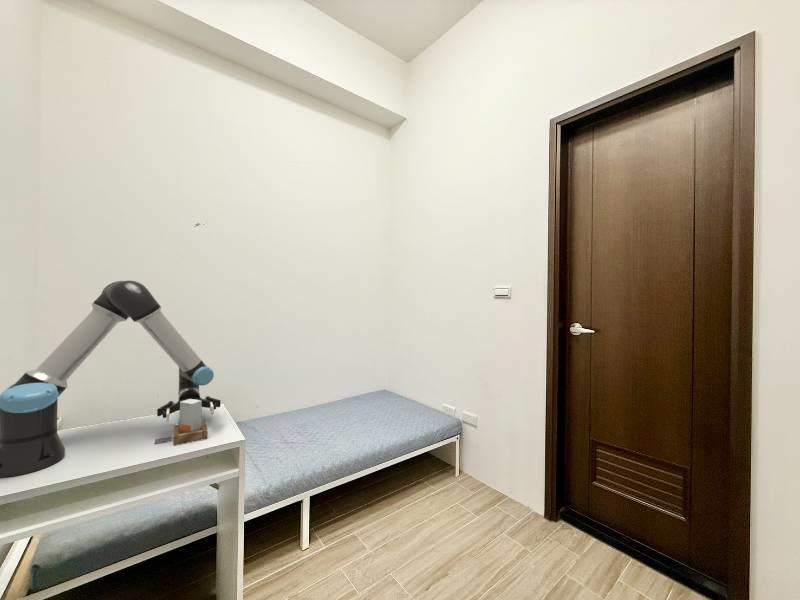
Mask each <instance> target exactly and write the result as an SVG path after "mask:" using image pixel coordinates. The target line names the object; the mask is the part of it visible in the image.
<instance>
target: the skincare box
mask: <svg viewBox="0 0 800 600" xmlns="http://www.w3.org/2000/svg"><path fill="white" fill-rule="evenodd" d="M202 408H203V407H202V401H201V400H196V399H187V400H184V401H181V402H180V410H179V424H180V431H179V434H184V433H189V432H194V431H200V430H201V421H202Z"/></svg>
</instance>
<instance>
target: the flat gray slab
mask: <svg viewBox="0 0 800 600" xmlns="http://www.w3.org/2000/svg"><path fill="white" fill-rule="evenodd" d="M167 441H169V442H173V436H171V435H170V436H165V437H160V438H155V439H154V442H153V443H154V445H159V444H162V443H163V442H164V443H168V442H167ZM158 443H159V444H158Z"/></svg>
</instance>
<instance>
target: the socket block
mask: <svg viewBox="0 0 800 600" xmlns="http://www.w3.org/2000/svg"><path fill="white" fill-rule="evenodd" d="M179 431H180V423H179V424H174V426H173V440H172V442H173V445H174V446H177V445H176V444H179V445H183V444H182V443H184V444H188V443H187V442H189V443H193V442H192V441H194V442H198V441H197V440H199V441H202V440H201V439H204V440H207V439H208V429H207V423H206V419H203V420H202V419H201V430H200V431H194V432H189V433H184V434H179ZM206 438H207V439H206Z"/></svg>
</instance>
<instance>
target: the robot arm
mask: <svg viewBox="0 0 800 600" xmlns="http://www.w3.org/2000/svg"><path fill="white" fill-rule="evenodd" d="M91 306H92V311H90V312H89V313H88V314H87V316H86V317H85V318H84V319H82V321H81V322H80V323H79V324H78V325H77V326H76V327H75V328H74V329H73V330H72V331H71V333H70V334H69V335H67V337H66V338H65V339H64V340H63V341H62V342H61V343H60V344H59V345H58V346H57V347H56V348H55V349H54V350H52V352H51V353H50V354H49V356H48V357H47V358H45V360H43V362H42V363H41V364H40V365H38V367H37V368H36V369H31V370H27V371H25V373H24V374H23V375H22V376H20V378H18V380H17V381H15V383H14V384H12V385H10V386H9V387H7V388H6V389H4V390H3V391H2V392H1V393H0V478H8V477H9V478H10V477H17V476H20V475H26V474H30V473H33V472H36V471H39V470H43V469H45V468H48V467H51V466H52V465H55V464H57V463H59V462H60V461H62V460H63V459H64V458H65V456H66V447H65V446H64V444H63V442H62V440H61V438H60V435H59V433H58V406H59V405H58V398H59V397H60V396H61V395H62V394H63V392H64V391H65V390H66V389H67V388H68V379H69V378H70V377H71V376H72V375H73V374H74V372H75V371H76V370H77V369H78V368H79V367H80V366H81V365H82V363H83V362H84V361H85V360H86V359H87V358H88V357H89V356H90V355H91V354H92V352H93V351H95V349H96V348H97V346H99V345H100V343H101V342H103V340H104V339H105V338H106V336H108V334H109V333H110V332H112V330H113V329H114V328H115V327H116V326H117V324H118V323H120V322H126V321H127V320H128V319H129V318H130V319H131V320H132V321H133V322H134V323H138V324H140V325H141V326H142V327H143V329H144V330H145V331H146V332H147V333H148V334H149V335H150V336H151V337H152V339H153V340H154V341H155V342H156V343H157V344H158V346H160V347H161V349H162V350H163V351H164V352H165V353H166V355H168V356H169V358H170V359H171V360H172V361H173V362H174V363H175V364H176V365H177V366H178V393H177V394H178V401H176V402H174V401H173V400H170V401H168V403H165V404H164V405H162V406H161V407H159V408H157V410H156V416H157V417H161V416H162V419H165V422H166V423H168V422H169V421H170V415H172V414H174V413H176V412H178V411H180V402H181V401H184V400H187V399H196V400H201V401H202V408H205V409H207V408H208V409H209V411H210V415H214V414H215V413H214V410H217V408H221V399H217V398H215V397H214V398H213V397H210V395H209V396H208V395H207V396H205V397H204V398H202V397H201V395H200V386H207V385H208V384H210V383H211V382H212V381H213V379H214V377H215V374H214V371H213V370H212V368H210V367H209V366H207V365H206V364H205V363H204V361H203V360H202V359H201V358H200V357H199V355H198V354H197V353H196V351H194V350H193V348H192V347H191V346H190V345H189V343H188V342H187V341H186V339H185V338H184V337H183V336H182V335H181V334H180V333H179V332H178V330H177V329H176V327H175V326H174V325H173V324H172V323H171V321H170V320H169V319H168V318H167V317H166V316H165V315H164V313H163V312H162V311H161V310H162V306H161V305H160V304H159V302H158V301H157V300H156V299H155V297H154V296H153V294H152V293H151V291H150V290H149V289H148V288H147V287H146V286H145V285H144V284H143V283H141V282H138V281H136V280H117V281H114V282H113V281H112V282H111V283H109V284H108V285H106V286H105V287H104V288H103V289H102V292H101V294H99V296H98V297H97V298H96V299H95V300H94V301H93V302H92V303H91Z"/></svg>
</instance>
